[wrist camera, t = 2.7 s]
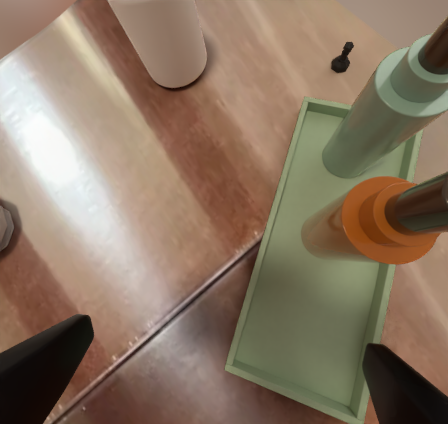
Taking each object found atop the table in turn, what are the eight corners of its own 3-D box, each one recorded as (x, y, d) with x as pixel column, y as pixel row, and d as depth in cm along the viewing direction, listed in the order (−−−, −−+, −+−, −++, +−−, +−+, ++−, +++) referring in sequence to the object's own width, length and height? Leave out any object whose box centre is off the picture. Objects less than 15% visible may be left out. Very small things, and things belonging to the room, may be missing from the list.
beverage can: (184, 101, 29) (137, -3, 17) (138, 75, 31) (68, -36, 19) (220, 54, 30) (198, -76, 18) (173, 31, 31) (127, -103, 20)
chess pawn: (349, 57, 27) (360, 34, 24) (348, 72, 27) (360, 50, 24) (331, 58, 27) (341, 34, 25) (331, 72, 27) (340, 50, 24)
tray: (351, 412, 20) (362, 429, 18) (226, 359, 23) (223, 370, 21) (411, 130, 25) (425, 118, 23) (300, 108, 27) (304, 96, 25)
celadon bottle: (375, 174, 24) (619, 15, 8) (326, 181, 24) (465, 46, 8) (363, 132, 25) (559, -83, 9) (317, 139, 25) (425, -51, 9)
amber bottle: (356, 256, 22) (601, 261, 7) (305, 262, 23) (423, 280, 7) (345, 208, 23) (535, 114, 8) (296, 215, 24) (381, 139, 8)
